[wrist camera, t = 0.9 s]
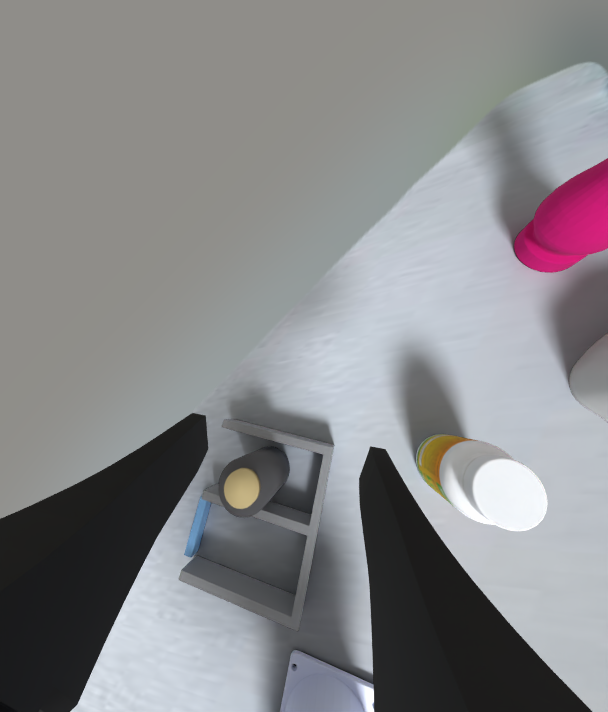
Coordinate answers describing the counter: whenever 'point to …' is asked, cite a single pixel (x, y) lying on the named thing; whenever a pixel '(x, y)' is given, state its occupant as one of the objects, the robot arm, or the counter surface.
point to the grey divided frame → (241, 586)
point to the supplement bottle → (482, 481)
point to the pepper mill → (568, 223)
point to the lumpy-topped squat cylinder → (592, 379)
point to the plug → (253, 481)
